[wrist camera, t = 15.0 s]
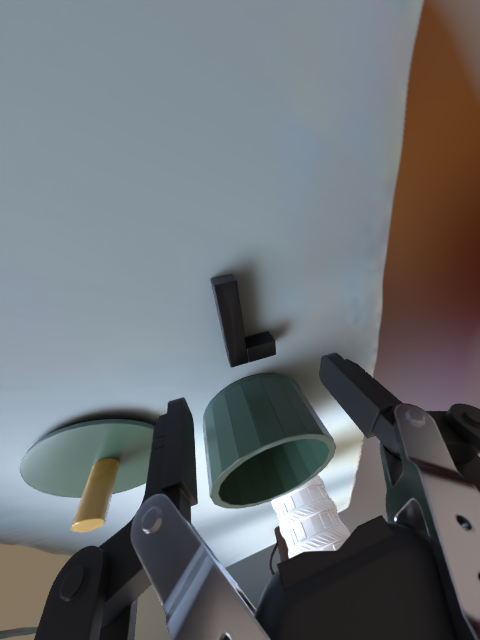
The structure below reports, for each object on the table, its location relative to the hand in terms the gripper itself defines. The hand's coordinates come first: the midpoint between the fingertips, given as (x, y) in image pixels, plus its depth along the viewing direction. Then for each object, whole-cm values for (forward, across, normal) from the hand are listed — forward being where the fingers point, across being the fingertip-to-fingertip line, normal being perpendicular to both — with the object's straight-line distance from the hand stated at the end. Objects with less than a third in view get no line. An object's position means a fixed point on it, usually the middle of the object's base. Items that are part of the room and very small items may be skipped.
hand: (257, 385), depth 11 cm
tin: (+8, -1, +15) cm, 17 cm away
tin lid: (+8, +17, +14) cm, 24 cm away
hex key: (+8, -1, 0) cm, 8 cm away
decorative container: (+9, -6, +37) cm, 39 cm away
